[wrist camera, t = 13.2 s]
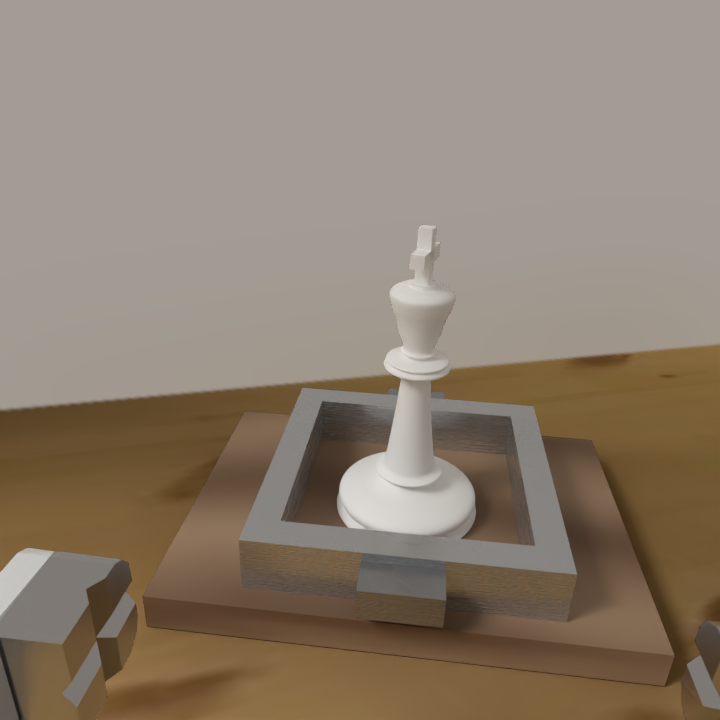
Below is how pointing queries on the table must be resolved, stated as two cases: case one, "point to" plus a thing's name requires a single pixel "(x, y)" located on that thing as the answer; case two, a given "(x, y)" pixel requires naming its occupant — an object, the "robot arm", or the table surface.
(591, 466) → the socket board
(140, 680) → the table surface
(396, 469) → the chess piece
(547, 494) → the square frame tray
